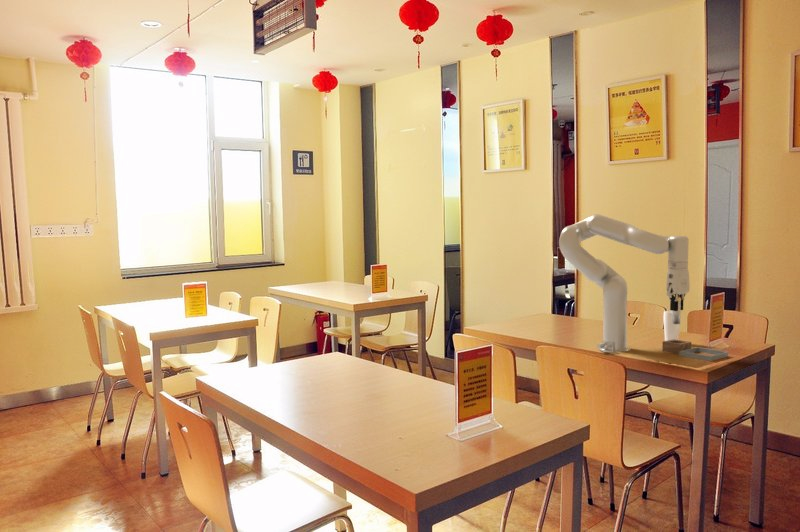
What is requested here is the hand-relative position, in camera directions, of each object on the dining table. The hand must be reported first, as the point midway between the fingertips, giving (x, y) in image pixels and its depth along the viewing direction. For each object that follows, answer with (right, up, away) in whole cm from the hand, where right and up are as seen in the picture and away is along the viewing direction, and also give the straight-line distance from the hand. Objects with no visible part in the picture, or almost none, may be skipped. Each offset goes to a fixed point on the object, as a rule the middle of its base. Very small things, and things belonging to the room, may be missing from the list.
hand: (676, 309), depth 264 cm
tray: (+7, -19, -8) cm, 22 cm away
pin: (0, -6, 0) cm, 6 cm away
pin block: (+1, -18, +1) cm, 18 cm away
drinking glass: (+6, -17, +18) cm, 26 cm away
